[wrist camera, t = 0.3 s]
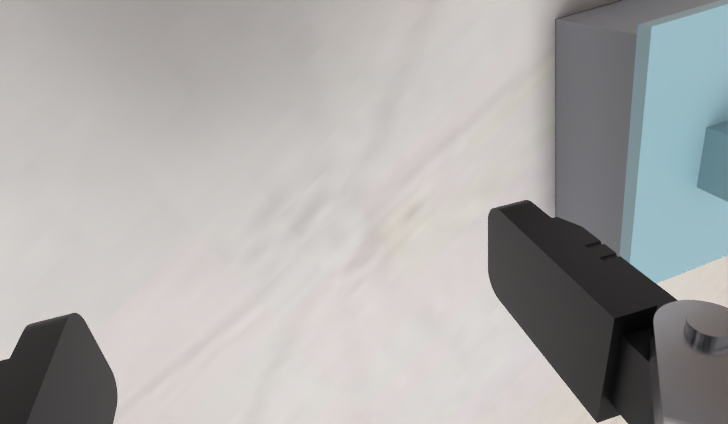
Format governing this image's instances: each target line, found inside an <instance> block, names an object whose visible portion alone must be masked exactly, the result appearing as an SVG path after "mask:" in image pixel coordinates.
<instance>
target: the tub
mask: <svg viewBox="0 0 728 424" xmlns="http://www.w3.org/2000/svg"><path fill="white" fill-rule="evenodd" d="M716 1H720V0H622V1H619V2H615V3H612V4H608V5H605V6H601V7H598V8H594V9H591V10H587V11H584V12H580V13H577V14H573V15H570V16H566V17H563V18H559V19H556V217H559V218H562V219H564V220H567V221H569V222H572V223H574V224H577V225H579V226H582V227H583V228H585V229H586V230H587V231H589V232H590V233H591V234H592V235H594V236H595V237H596V238H598V239H599V240H600V241H601V244H605V245H607V246H608V247H609V248H611V249H612V250H613V251H614V252H616V255H617V256H618V257H619V256H620V244H621V232H622V219H623V206H624V194H625V181H626V168H627V156H628V143H629V130H630V118H631V105H632V92H633V80H634V67H635V55H636V42H637V29H638V24H642V23H645V22H648V21H652V20H655V19H658V18H662V17H665V16H669V15H672V14H675V13H679V12H682V11H686V10H689V9H692V8H696V7H699V6H703V5H706V4H709V3H713V2H716Z"/></svg>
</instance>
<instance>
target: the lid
mask: <svg viewBox="0 0 728 424" xmlns="http://www.w3.org/2000/svg"><path fill="white" fill-rule="evenodd" d="M727 255H728V0H720V1H716V2H713V3H709V4H706V5H703V6H699V7H696V8H692V9H689V10H686V11H682V12H679V13H675V14H672V15H669V16H665V17H662V18H658V19H655V20H652V21H648V22H645V23H642V24H638V29H637V42H636V55H635V67H634V80H633V92H632V105H631V118H630V130H629V143H628V156H627V168H626V181H625V194H624V206H623V219H622V232H621V244H620V256H621V257H622V258H623V259H625V260H626V261H627V262H629V263H630V264H631V265H632V266H634V267H635V268H636V269H638V270H639V271H640V272H642V273H643V274H644V275H645V276H647V277H648V278H649V279H651V280H652V281H653V282H654V283H659V282H661V281H664V280H666V279H669V278H671V277H674V276H676V275H679V274H681V273H684V272H686V271H689V270H691V269H694V268H697V267H699V266H702V265H704V264H707V263H709V262H712V261H714V260H717V259H719V258H722V257H724V256H727Z"/></svg>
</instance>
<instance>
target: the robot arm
mask: <svg viewBox="0 0 728 424" xmlns="http://www.w3.org/2000/svg"><path fill="white" fill-rule="evenodd" d="M488 273H489V278H490V282H491V285H492V288H493V290H494V292H495V294H496V296H497V297H498V299H499V300H500V301H501V303H502V304H503V305H504V306H505V308H506V309H507V310H508V312H509V313H510V314H511V315H512V317H513V318H514V319H515V320H516V322H517V323H518V324H519V325H520V327H521V328H522V329H523V330H524V332H525V333H526V334H527V335H528V337H529V338H530V339H531V340H532V342H533V343H534V344H535V345H536V347H537V348H538V349H539V350H540V352H541V353H542V354H543V356H544V357H545V358H546V359H547V361H548V362H549V363H550V364H551V366H552V367H553V368H554V369H555V371H556V372H557V373H558V374H559V376H560V377H561V378H562V379H563V381H564V382H565V383H566V384H567V386H568V387H569V388H570V389H571V391H572V392H573V393H574V394H575V396H576V397H577V398H578V400H579V401H580V402H581V403H582V405H583V406H584V407H585V408H586V410H587V411H588V412H589V413H590V415H591V416H592V417H593V418H594V420H595V421H596V422H597V423H598V422H601V421H604V420H607V419H609V418H612V417H615V416H618V415H621V416H622V417H623V418H624V419H625V421H626V422H627V423H628V424H728V308H726V307H723V306H721V305H717V304H714V303H710V302H705V301H697V300H680V301H678V300H676V299H675V298H674V297H673V296H671V295H670V294H669V293H667V292H666V291H665V290H663V289H662V288H661V287H660V286H658V285H657V284H656V283H654V282H653V281H652V280H651V279H649V278H648V277H647V276H645V275H644V274H643V273H642V272H640V271H639V270H638V269H636V268H635V267H634V266H632V265H631V264H630V263H629V262H627V261H626V260H625V259H623V258H622V257H621V256H619V257H618V256H617V255H616V252H614V251H613V250H612V249H611V248H609V247H608V246H607V245H605V244H601V241H600V240H599V239H598V238H596V237H595V236H594V235H592V234H591V233H590V232H589V231H587V230H586V229H585V228H583V227H582V226H579V225H577V224H574V223H572V222H569V221H567V220H564V219H562V218H559V217H555V218H551V217H549V216H548V215H547V214H546V213H544V212H543V211H542V210H541V209H540V208H538V207H537V206H536V205H535V204H533V203H532V202H531V201H528V200H524V201H520V202H516V203H512V204H508V205H504V206H500V207H496V208H493V209H491V210H490V212H489V216H488ZM116 407H117V387H116V382H115V378H114V375H113V372H112V370H111V368H110V367H109V365H108V363H107V361H106V359H105V357H104V355H103V354H102V352H101V350H100V348H99V346H98V344H97V342H96V341H95V339H94V337H93V335H92V333H91V331H90V329H89V328H88V326H87V324H86V322H85V321H84V319H83V318H82V317H81V316H80V315H79V314H77V313H72V314H68V315H64V316H60V317H56V318H52V319H48V320H44V321H40V322H36V323H32V324H29V325H28V326H27V327H26V328H25V329H24V331H23V333H22V335H21V337H20V339H19V341H18V343H17V345H16V347H15V349H14V351H13V353H12V355H11V357H10V359H6V360H2V361H0V424H113V421H114V416H115V412H116Z"/></svg>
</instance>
